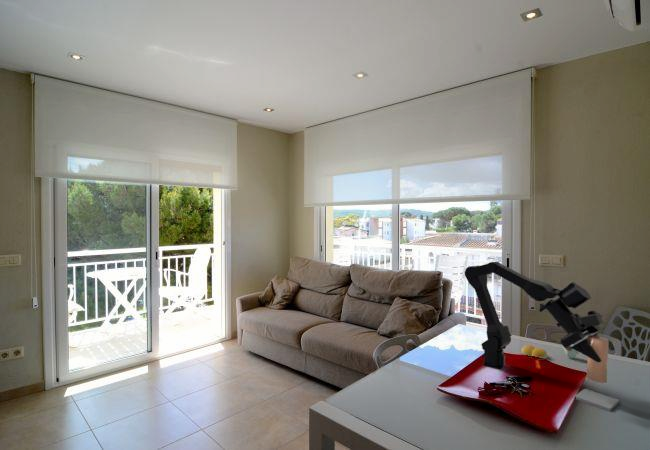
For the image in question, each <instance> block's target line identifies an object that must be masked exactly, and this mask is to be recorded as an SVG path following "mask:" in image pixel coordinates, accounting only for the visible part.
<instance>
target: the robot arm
mask: <svg viewBox="0 0 650 450" xmlns="http://www.w3.org/2000/svg"><path fill="white" fill-rule="evenodd" d="M492 274H495V275H497V276H499V277H500V278H502V279H504V280H506V281H508V282H510V283H511V284H513V285H515V286H517V287H519V288H521V289H522V290H523V291H524V292H525V294H526V295H528V296H529V297H530V298H532V299H533V300H534V301H537V302H542V303H539V309H538V310H539V311H538V312H540V313H542V312H545V311H547V313H549V315H551V316H552V318H553V319H554V321H556V322H557V323H556V326H557V327H558V328H560V327H561V328H562V329H563V331H564V332H565V333H566V334H565V336H564V337H562V338H560V345H561V346H562V345H563V347H564V348H567V347H569V346H570V345H572V344H573V345H574V346H572V347H570V348H571V349H574V350H576V351H578V352H580V353H579V354H582V355H584V356H586V357H587V358H588V357H589V358H591V359H593V360H595V361H596V362H601V359H600V357H599V356H598V355H597V353H596V352H595V350H594V349H593V348H592V346H591V345H590V337H588V336H590V335H593V336H600V331H601V330H602V327H600V325H602V324H605V323H604V320H603V315H602V314H601V313H600V312H597V311H596V310H590V311H587V314H586V315H582V316H581V315H579V314H578V313H576V312H575V313H574V312H573V311H572V310H571V309H570V308H572V309H577V308H579V307H580V306H581V305H583V304H585V303H586V302H588V301H589V300H591V299H592V297H591V295H590V293H589V292H588V291H587V289H585V288H583V287H582V286H580V285H578V284H577V283H576V282H574V281H573V282H570V283H569V284H568V285H567V286H566V287H564V288H562V289H559V288H555V287H553V285H551V284H550V283H547V282H544V281H541V280H537V279H533V278H529V277H527V276H526V275H524V274H521V273H519V272H518V271H516V270H514V269H511V268H510V267H507V266H505V265H504V264H502V263H500V262H499V261H490V262H488V263H485V264H481V265H472V266H467V267H466V268H465V270H464V277H465V278H466V281H467V282H468V284H469V285H470V286H471V287H472V288H473V289H474V291H475V295H476V298H477V300H478V303H479V305H480V309H481V312H482V314H483V316H484V317H483V318H484V320H485V322H486V337H487V339H486V340H485V341H484V342H482V343H481V344H480V345H481V349H482V350H483V351H484V353H483V354H484V355H483V356H484V357H483V358H484V359H483V363H482V365H483V366H485V367H488V368H493V369H497V370H502V369H503V367H504V366H505V365H506V354H505V353H504V350H505V349H507V346H509V345H510V343H511V342H512V339H511V337H512V336H513V335H512V334H511V332H510V329H509V326H508V325H503V324H502V322H501V321H500V319H499V315H498V313H497V310H496V307H495V304H494V302H493V299H492V297H491V293H490V291H489V288H488V275H492ZM558 297H559V298H558ZM555 298H557V299H555ZM547 300H548V301H547ZM543 301H547V302H545V303H544V302H543ZM563 347H562V348H563ZM564 348H563V349H564Z"/></svg>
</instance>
